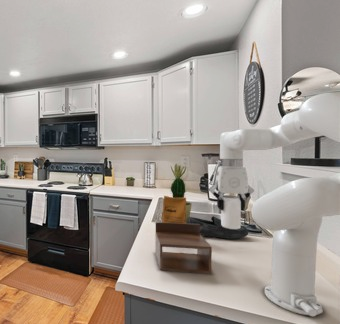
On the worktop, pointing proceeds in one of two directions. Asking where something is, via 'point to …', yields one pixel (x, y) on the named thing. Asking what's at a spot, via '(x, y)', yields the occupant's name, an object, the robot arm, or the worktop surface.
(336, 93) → the robot arm
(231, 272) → the worktop surface
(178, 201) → the coffee package
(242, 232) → the loafer
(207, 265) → the shelf
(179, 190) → the potted cactus
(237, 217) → the can
